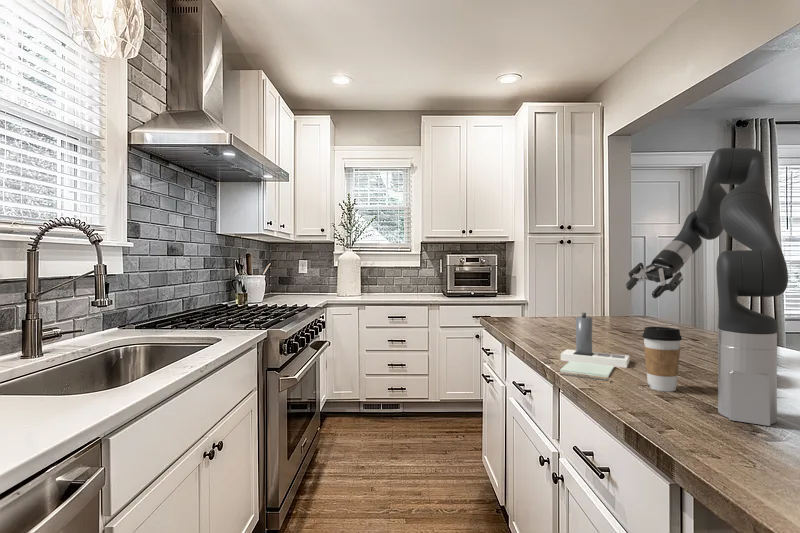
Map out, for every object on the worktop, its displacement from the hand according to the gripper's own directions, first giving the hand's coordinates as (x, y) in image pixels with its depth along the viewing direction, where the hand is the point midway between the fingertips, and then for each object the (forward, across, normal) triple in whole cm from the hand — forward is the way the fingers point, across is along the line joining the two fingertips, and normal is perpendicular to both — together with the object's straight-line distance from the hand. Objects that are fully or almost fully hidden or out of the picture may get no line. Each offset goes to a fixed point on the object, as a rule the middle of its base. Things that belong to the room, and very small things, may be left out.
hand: (640, 292), depth 133 cm
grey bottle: (+26, -3, +6) cm, 27 cm away
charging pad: (+32, +6, 0) cm, 33 cm away
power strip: (+24, +2, +8) cm, 25 cm away
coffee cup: (+27, +24, -1) cm, 36 cm away
